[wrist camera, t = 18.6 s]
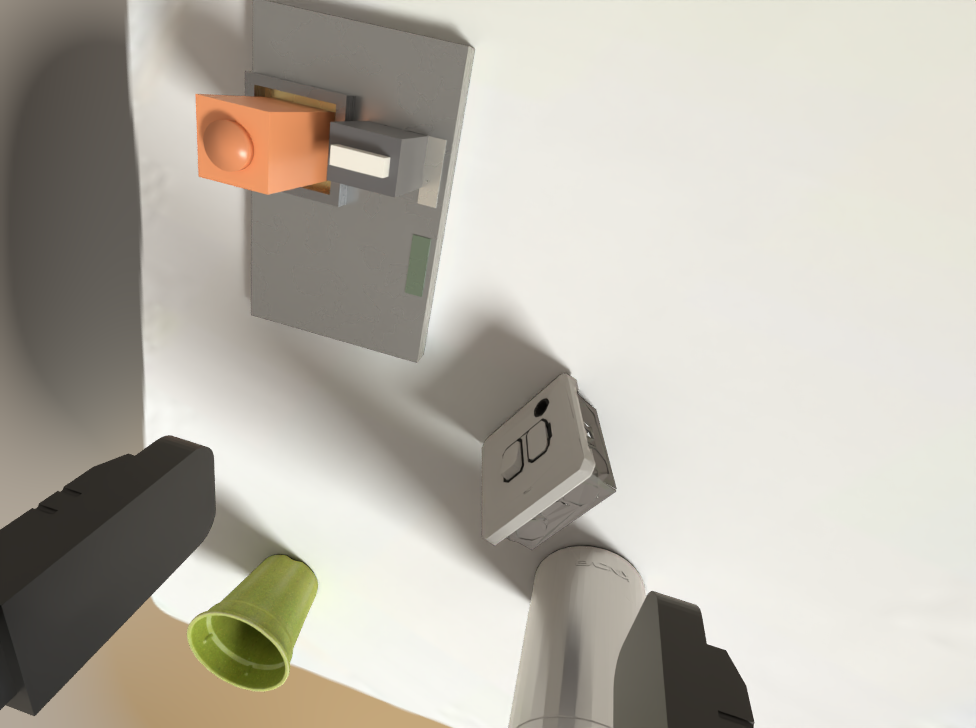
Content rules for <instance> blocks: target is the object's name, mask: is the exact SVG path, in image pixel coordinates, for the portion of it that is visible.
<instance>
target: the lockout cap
mask: <svg viewBox="0 0 976 728" xmlns="http://www.w3.org/2000/svg"><path fill="white" fill-rule="evenodd" d="M196 119H197V145H198V172H199V177H202V178H206V179H210V180H214V181H217V182H221V183H225V184H229V185H233V186H236V187H240V188H244V189H248V190H252V191H255V192H259V193H263V194H267V195H269V194H273V193H278V192H282V191H286V190H290V189H295V188H299V187H303V186H307V185H312V184H316V183H320V182H324V181H328V180H327V166H328V151H329V136H330V122H335V112H332V111H328V110H324V109H320V108H316V107H312V106H308V105H303V104H299V103H295V102H291V101H287V100H283V99H279V98H275V97H253V96H231V95H208V94H196Z"/></svg>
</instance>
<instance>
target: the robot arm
mask: <svg viewBox="0 0 976 728" xmlns="http://www.w3.org/2000/svg"><path fill="white" fill-rule="evenodd" d="M215 510H216V507H215V475H214V455H213V452H212V450H211V449H210V448H208V447H205V446H202V445H199V444H196V443H193V442H190V441H187V440H184V439H180V438H177V437H174V436H169V435H168V436H164V437H161V438H160V439H158V440H157V441H155V442H154V443H152V444H151V445H149V446H148V447H147V448H145V449H144V450H142V451H141V452H140V453H138V454H137V455H135V456H134V455H131V454H126V455H123V456H121V457H118V458H116V459H113V460H110V461H108V462H105V463H103V464H100V465H97V466H95V467H93V468H91V469H89V470H88V471H86V472H85V473H84V474H82V475H81V476H79V477H78V478H76V479H75V480H74V481H72V482H70V483H69V484H67V485H66V486H64V488H63V490H62V491H61V492H59V491H57V492H56V493H54V494H53V495H51V496H49V497H48V498H47V499H45V500H44V501H42V502H41V503H39V506H38V507H37V508H36V509H33V508H32V509H30V510H29V511H27V512H26V513H24V514H23V515H22V516H20V517H18V518H17V519H15V520H14V521H12V522H11V523H10V524H8V525H7V526H5V527H4V528H2V529H1V530H0V710H1V709H2V708H3V707H4V706H5V705H7V706H9V707H12V708H14V709H17V710H20V711H22V712H25V713H27V714H30V715H33V716H35V715H36V714H37V713H38V712H39V711H40V710H41V709H42V708H43V707H44V706H45V705H46V704H47V703H48V702H49V701H50V699H52V697H54V696H55V695H56V693H57V692H58V691H59V690H60V689H61V688H62V687H63V686H64V685H65V684H66V683H67V682H68V681H69V680H70V679H71V678H72V677H73V676H74V675H75V674H76V673H77V671H79V670H80V669H81V668H82V667H83V666H84V664H85V663H86V662H87V661H88V660H89V659H90V658H91V657H92V656H93V655H94V654H95V653H96V652H97V651H98V650H99V649H100V648H101V647H102V646H103V645H104V644H105V643H106V642H107V641H108V640H109V639H110V638H111V636H112V635H113V634H114V633H115V632H116V631H117V630H118V629H119V628H120V627H121V626H122V625H123V624H124V623H125V622H126V621H127V620H128V619H129V618H130V617H131V616H132V615H133V614H134V613H135V612H136V610H137V609H139V607H141V605H142V604H143V603H144V602H145V601H146V600H147V599H148V598H149V597H150V596H151V595H152V594H153V593H154V592H155V591H156V590H157V589H158V588H159V587H160V586H161V585H162V584H163V583H164V582H165V581H166V580H167V579H168V578H169V576H170V575H171V574H172V573H173V572H174V571H175V570H176V569H177V568H178V567H179V566H180V565H181V564H182V563H183V562H184V561H185V560H186V559H187V558H188V557H189V556H190V555H191V554H192V553H193V552H194V551H195V550H196V549H197V547H198V546H199V545H200V544H201V543H202V542H203V540H204V539H205V538H206V536H207V534H208V533H209V531H210V529H211V526H212V524H213V521H214V517H215ZM753 726H754V719H753V714H752V710H751V705H750V701H749V696H748V692H747V687H746V685H745V683H744V681H743V679H742V678H741V676H740V674H739V672H738V671H737V669H736V667H735V665H734V664H733V662H732V660H731V658H730V657H729V655H728V653H727V651H726V650H723V649H720V648H717V647H714V646H711V645H708V644H707V643H706V637H705V631H704V625H703V619H702V614H701V611H700V609H699V607H698V606H697V605H695V604H692V603H688V602H685V601H682V600H679V599H676V598H673V597H670V596H667V595H663V594H660V593H657V592H654V591H651V592H649V593H648V595H647V596H646V594H645V586H644V583H643V580H642V578H641V576H640V574H639V573H638V572H637V570H636V569H635V568H634V567H633V566H632V565H631V564H630V563H629V562H628V561H627V560H625V559H624V558H622V557H620V556H619V555H617V554H615V553H612V552H610V551H608V550H605V549H601V548H596V547H590V546H575V547H568V548H564V549H561V550H558V551H556V552H554V553H552V554H550V555H549V556H548V557H547V558H545V559H544V560H543V561H542V563H541V564H540V565H539V567H538V569H537V572H536V575H535V579H534V585H533V591H532V596H531V602H530V607H529V612H528V618H527V623H526V629H525V635H524V640H523V646H522V652H521V658H520V663H519V669H518V675H517V680H516V686H515V692H514V697H513V703H512V709H511V714H510V720H509V726H508V728H754V727H753Z"/></svg>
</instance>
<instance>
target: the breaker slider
mask: <svg viewBox="0 0 976 728" xmlns="http://www.w3.org/2000/svg"><path fill="white" fill-rule="evenodd" d="M428 137H429V136H426V135H422V134H418V133H414V132H410V131H406V130H402V129H397V128H393V127H389V126H385V125H381V124H377V123H373V122H369V121H341V122H330V136H329V151H328V166H327V180H328V181H332V182H336V183H340V184H344V185H348V186H351V187H355V188H359V189H363V190H367V191H371V192H375V193H379V194H382V195H386V196H390V197H394V198H395V197H398V196H400V195H403V194H406V193H408V192H411V191H413V190H416V189H419V188H421V185H422V178H423V171H424V164H425V157H426V150H427V144H428Z"/></svg>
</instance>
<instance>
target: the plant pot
mask: <svg viewBox="0 0 976 728" xmlns="http://www.w3.org/2000/svg"><path fill="white" fill-rule="evenodd" d="M317 588H318V582H317V579H316V577H315V575H314V573H313V572H312V571H311V570H310V568H309V567H308V566H307V565H305V564H304V563H303V562H299V561H294V560H292V559H290V558H289V557H288V556H287V555H273V556H270V557H268V558H267V559H265V560H264V561H263V562H262V563H261V564H260V565H259V566H258V567H257V568H256V569H255V570H254V571H253V572H252V573H251V574H250V575H248V576H247V577H246V578H245V579H244V580H243V581H242V582H241V583H240V584H239V585H238V586H237V587H236V588H235V589H234V590H233V591H232V592H231V593H230V594H229V595H227V596H226V597H225V598H224V599H223V600H222V601H221V602H220V603H218V604H216V605H214V606H213V607H212V608H210V609H209V610H208V611H206V612H203V613H201V614H199V615H197V616H196V617H195V618H194V619H193V620H192V621H191V623H190V624H189V626H188V630H187V638H188V643H189V646H190V648H191V650H192V652H193V653H194V655H195V656H196V658H197V659H198V660H199V661H200V662H201V663H202V665H204V666H205V667H206V668H207V669H208V670H209V671H210V672H211V673H213V674H214V675H216V676H217V677H218V678H220V679H222V680H224V681H225V682H227V683H230V684H232V685H234V686H236V687H240V688H243V689H247V690H252V691H270V690H273V689H276V688H278V687H280V686H281V685H282V684H284V682H285V681H286V679H287V677H288V675H289V672H290V661H291V658H292V654H293V648H294V645H295V643H296V640H297V638H298V636H299V633H300V631H301V628H302V626H303V623H304V621H305V619H306V616H307V614H308V612H309V610H310V607H311V605H312V603H313V601H314V598H315V596H316V593H317Z"/></svg>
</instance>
